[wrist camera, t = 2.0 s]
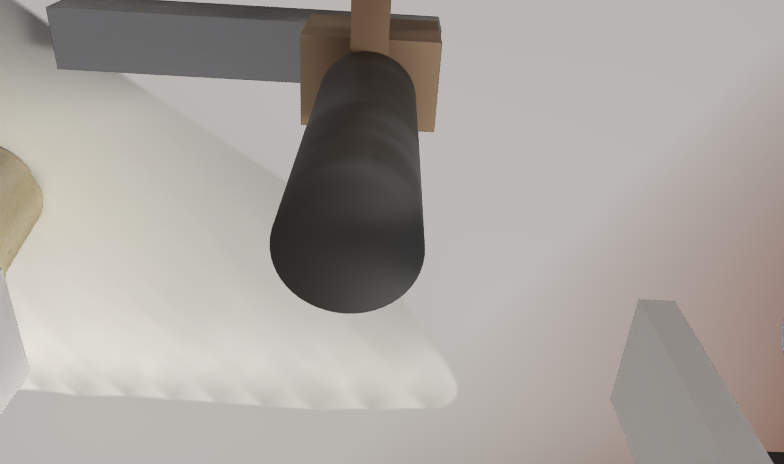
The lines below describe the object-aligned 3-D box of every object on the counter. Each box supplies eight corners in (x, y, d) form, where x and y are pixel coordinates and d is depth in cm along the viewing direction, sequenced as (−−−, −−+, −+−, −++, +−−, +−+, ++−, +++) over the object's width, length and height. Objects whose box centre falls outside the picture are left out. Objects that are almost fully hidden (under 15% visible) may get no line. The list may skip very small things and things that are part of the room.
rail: (438, 16, 36) (441, 30, 33) (433, 73, 37) (435, 90, 35) (72, -5, 35) (45, 7, 33) (82, 53, 37) (57, 69, 34)
